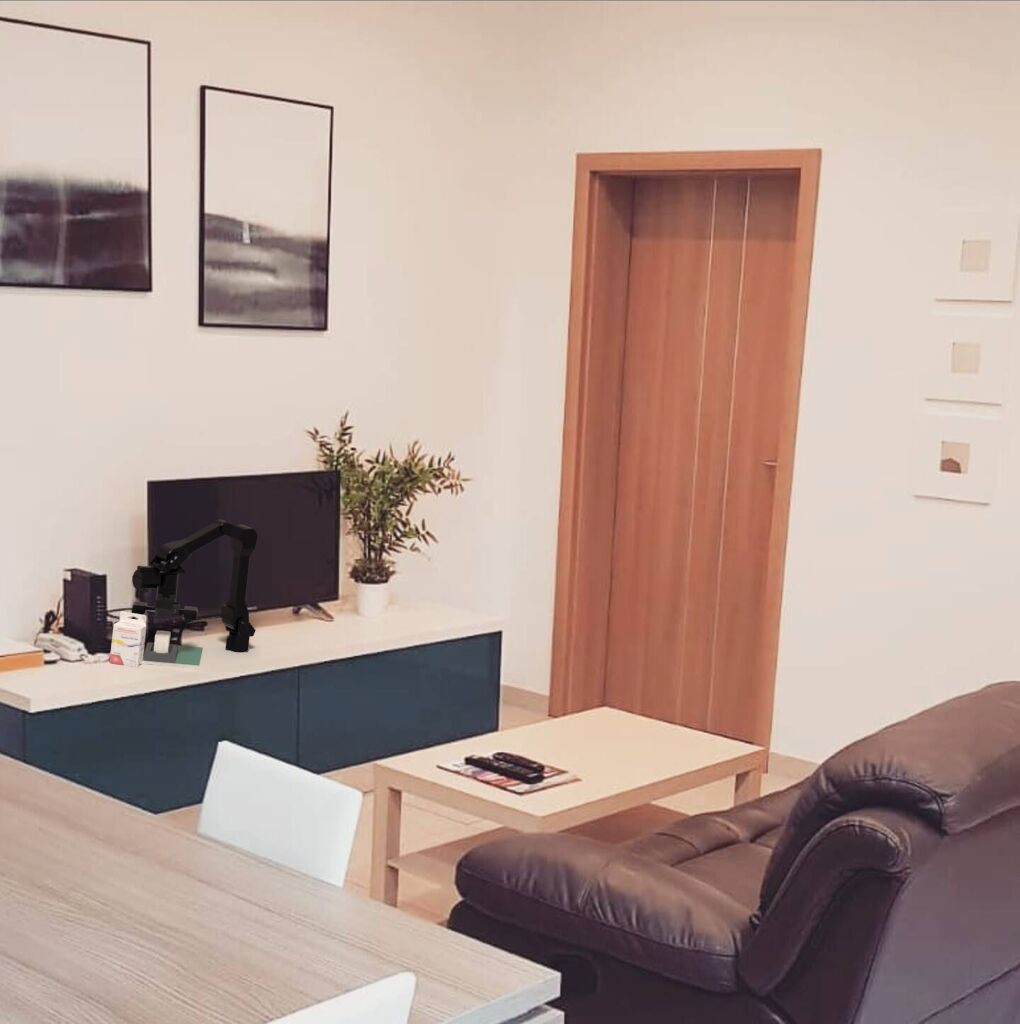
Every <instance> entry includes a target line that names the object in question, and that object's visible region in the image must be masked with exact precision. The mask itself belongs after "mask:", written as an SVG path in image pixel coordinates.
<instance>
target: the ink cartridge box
mask: <svg viewBox="0 0 1020 1024" xmlns="http://www.w3.org/2000/svg"><path fill="white" fill-rule="evenodd" d="M129 617H130V618H129ZM131 617H134V618H137V619H133V618H131ZM146 618H147V617H146V615H141V614H135V613H132V612H129V611H123V610H121V611H120V612H119V621H117V622H116V623H114V624H113V629H112V636H111V645H110V647H111V648H110V656H109V664H113V665H119V666H124V665H125V666H124V667H130V666H132V667H131V668H136V667H137V668H139V667H140V666H141V665H142V662H143V661H144V652H145V646H146V645H145V644H146V638H145V635H146Z"/></svg>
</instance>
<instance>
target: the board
mask: <svg viewBox="0 0 1020 1024" xmlns="http://www.w3.org/2000/svg"><path fill="white" fill-rule="evenodd" d="M154 643H155V642H147V643H146V645H145V646H146V647H145V648H144V655H143V661H144V662H152V663H162V664H163V663H164V664H165V663H166V664H175V665H184V666H185V665H188V666H198V667H199V666H200V664H201V659H202V655H203V650H204V647H200V646H189V645H188V646H187V645H179V644H173V643H170V645H169V653H167V652H165V653H156V652H155V651H154ZM148 665H151V666H153V664H151V663H148Z"/></svg>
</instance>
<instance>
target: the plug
mask: <svg viewBox="0 0 1020 1024" xmlns="http://www.w3.org/2000/svg"><path fill="white" fill-rule="evenodd" d="M170 641H171V631H169V630H168V631H167V630H156V632H155V635H154V642H153V643H154V651H155V652H156V653H165V652H167V653H169V645H170V644H171V642H170Z"/></svg>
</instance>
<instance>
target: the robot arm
mask: <svg viewBox="0 0 1020 1024" xmlns="http://www.w3.org/2000/svg"><path fill="white" fill-rule="evenodd" d="M224 536H228V537H230V538H229V539H230V546H231V549H232V553H233V558H232V559H233V561H232V571H231V579H230V581H231V582H230V591H229V598H228V599H229V600H228V601H227V603H225V604H221V611H220V612H221V613H220V616H219V618H221V623H223V625H224V627H225V631H227V632H228V635H227V636H226V640H225V641H226V642H225V651H229V652H233V653H248V652H249V647H250V637H254V635H255V633H256V628H255V627H254V626H253V624H251V623H250V611H249V608H248V606H247V603H246V602H247V601H246V599H247V588H248V582H249V581H248V580H249V571H250V560H251V555H252V554H253V553H254V551H255V550H256V546H257V544H258V539H259V534H258V531H256V529H254V528H252V527H249V526H247V525H244V524H236V525H234V524H231V523H230V522H228V521H226V520H224V519H220V518H219V519H217V520H215V521H214V522H213V523H211V524H209V525H208V526H205V527H203V528H201V529H199V530H198V531H196V532H194V533H192V534H191V535H189V536H187V537H185V538H183V539H180V540H172V541H169V542H166V543H165V544H162V545H160V546H159V547H158V550H157V552H156V553H155V555H154V556H153V558H152V559H151V561H150V562H149V563H148V565H137V566H136V570H134V571H133V574H132V579H131V581H132V586H133V588H134V589H135V590H154V589H157V590H156V598H155V602H154V606H152V605H148V602H145V601H135V602H133V604H132V606H131V613H135V614H141V615H146V617H147V618H146V635H145V639H148V634H149V627H148V626H149V625H148V623H149V619H148V616H149V615H148V613H152V614H154V617H155V618H158V619H159V618H160V619H161V618H164V619H172V617H173V616H182V618H181V622H180V625H179V628H178V629H179V631H178V634H177V639H176V640H177V642H179V641H180V639H181V637H182V636H183V635H182V634H183V631H184V629H185V628H186V627H187V625H188V623H189V624H190V623H192V622H193V621H197V619H198V614H199V609H198V607H196V606H190V605H188V606H187V605H184V608H181V607H180V606H181V605H180V604H181V603H180V601H177V594H178V586H179V585H178V583H179V574H185V573H186V570H185V569H184V568H183V566H182V565H183V564H184V563H185V562H186V561H187V560H189V557H190V556H191V555H192V554H193V553H194V552H196V551H198V550H199V549H201V548H204V547H205V546H207V545H209V544H211V543H213V542H214V541H216V540H217V539H220V538H221V537H224Z"/></svg>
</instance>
